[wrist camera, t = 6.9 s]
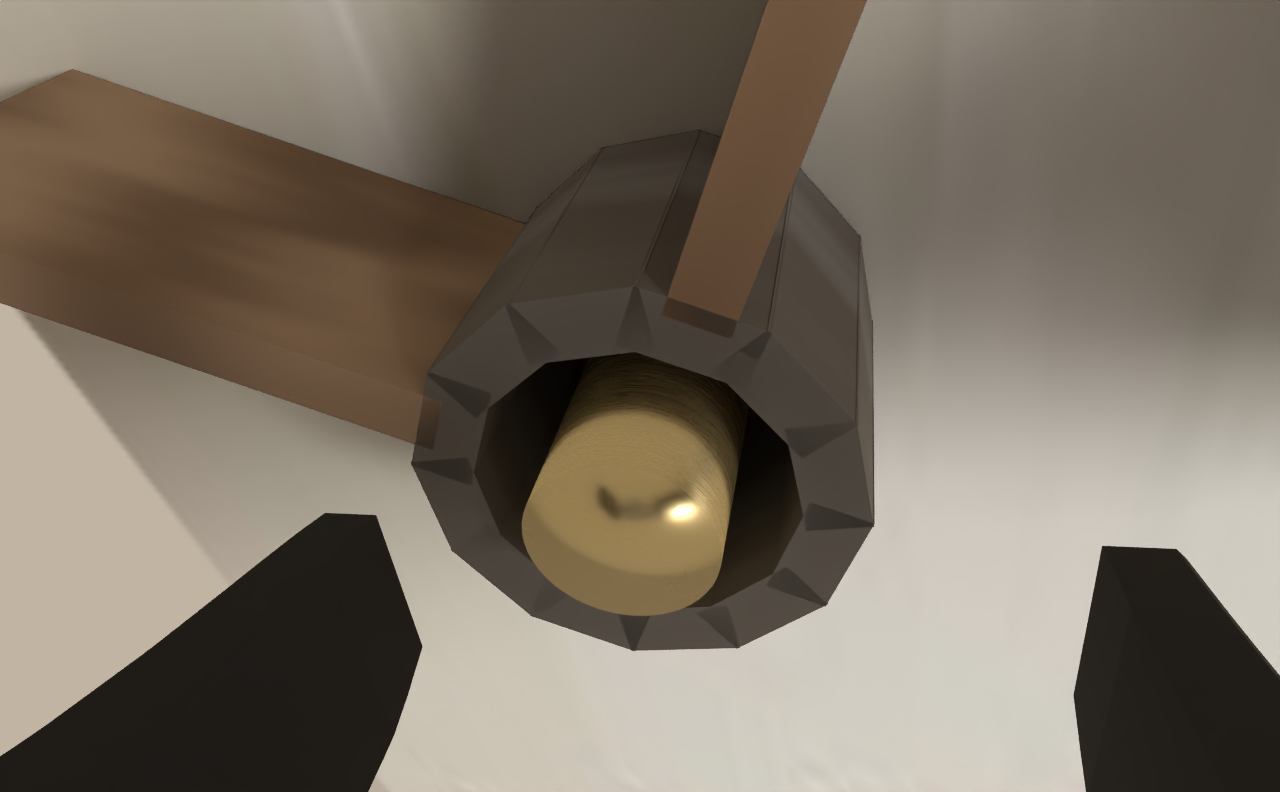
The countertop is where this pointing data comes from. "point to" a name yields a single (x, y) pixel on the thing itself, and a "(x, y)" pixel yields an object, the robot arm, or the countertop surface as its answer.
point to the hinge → (490, 306)
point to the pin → (637, 486)
